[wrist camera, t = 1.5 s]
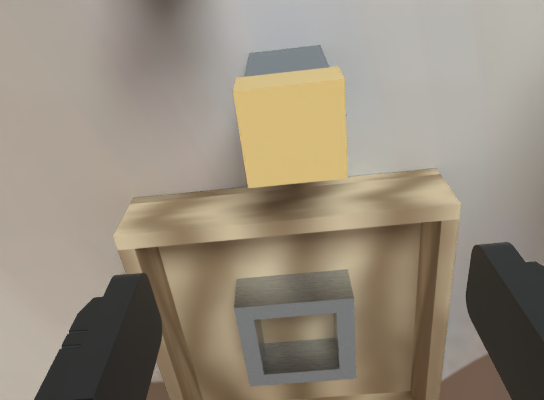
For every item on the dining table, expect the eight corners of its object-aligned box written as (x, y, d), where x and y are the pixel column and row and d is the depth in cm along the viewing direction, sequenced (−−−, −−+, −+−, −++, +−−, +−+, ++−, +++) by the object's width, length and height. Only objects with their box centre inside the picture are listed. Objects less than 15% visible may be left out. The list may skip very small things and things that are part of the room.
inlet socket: (347, 269, 33) (354, 298, 30) (350, 347, 37) (356, 378, 34) (236, 278, 33) (233, 308, 31) (251, 354, 37) (249, 386, 35)
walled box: (436, 168, 30) (461, 204, 26) (419, 389, 41) (434, 438, 37) (133, 197, 31) (113, 236, 27) (196, 405, 42) (189, 454, 38)
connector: (325, 39, 26) (344, 78, 19) (329, 117, 28) (347, 178, 21) (243, 48, 26) (232, 91, 19) (254, 125, 28) (248, 188, 21)
